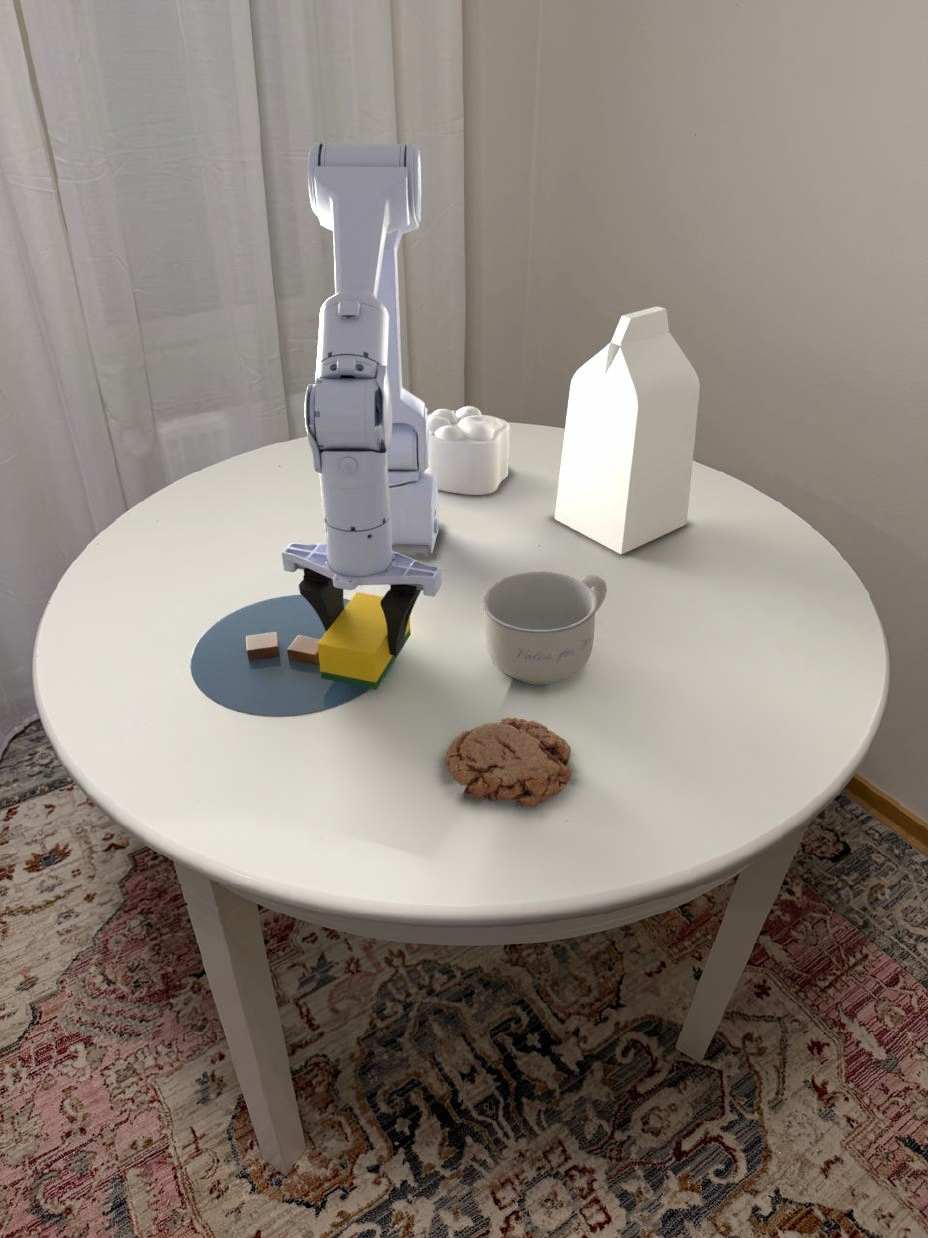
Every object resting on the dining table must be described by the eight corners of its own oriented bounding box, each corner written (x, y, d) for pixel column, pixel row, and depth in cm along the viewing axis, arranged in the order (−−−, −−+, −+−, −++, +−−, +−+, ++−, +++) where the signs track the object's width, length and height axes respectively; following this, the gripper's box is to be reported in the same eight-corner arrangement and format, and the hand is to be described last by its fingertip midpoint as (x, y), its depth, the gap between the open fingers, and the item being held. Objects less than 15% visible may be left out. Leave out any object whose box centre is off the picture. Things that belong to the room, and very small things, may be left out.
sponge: (410, 634, 87) (409, 601, 84) (376, 690, 80) (374, 654, 77) (359, 625, 88) (356, 591, 86) (321, 678, 81) (317, 643, 79)
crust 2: (327, 650, 86) (326, 640, 86) (316, 665, 84) (315, 655, 84) (299, 644, 87) (298, 634, 86) (288, 659, 85) (286, 649, 85)
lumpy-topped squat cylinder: (488, 498, 116) (490, 437, 111) (399, 482, 120) (397, 422, 115) (514, 467, 124) (516, 409, 119) (429, 453, 128) (428, 396, 123)
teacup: (516, 712, 81) (519, 642, 76) (462, 650, 89) (462, 583, 84) (638, 670, 86) (649, 602, 82) (577, 614, 94) (583, 549, 90)
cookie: (430, 748, 77) (429, 722, 75) (539, 719, 80) (541, 694, 78) (471, 829, 69) (471, 803, 68) (591, 794, 72) (594, 768, 71)
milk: (621, 554, 105) (647, 334, 90) (554, 518, 112) (568, 310, 97) (686, 524, 111) (721, 314, 96) (619, 492, 118) (641, 292, 103)
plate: (411, 611, 95) (411, 600, 94) (376, 736, 78) (375, 724, 77) (231, 599, 96) (229, 588, 96) (160, 719, 80) (157, 707, 79)
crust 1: (278, 641, 88) (276, 631, 87) (279, 656, 86) (278, 646, 85) (247, 645, 87) (245, 635, 86) (248, 660, 85) (246, 650, 84)
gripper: (258, 524, 74) (277, 653, 82) (420, 550, 71) (424, 683, 78) (296, 489, 80) (310, 613, 87) (448, 511, 76) (449, 638, 84)
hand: (366, 643), depth 83 cm, fingers closed on sponge, 5 cm apart
